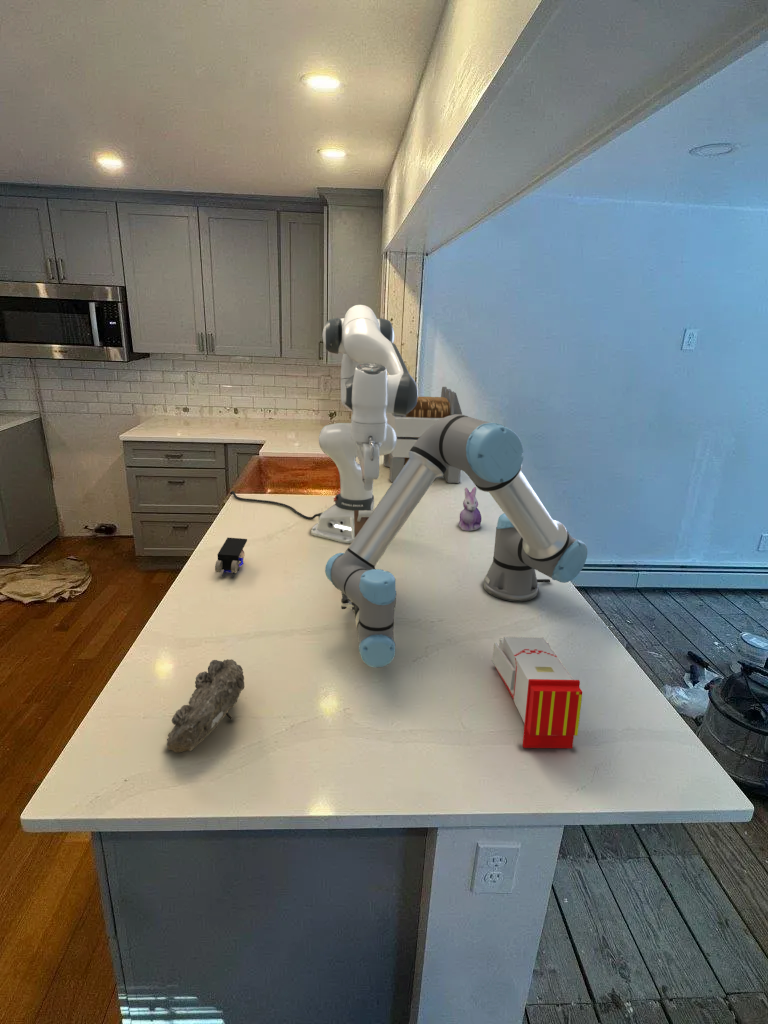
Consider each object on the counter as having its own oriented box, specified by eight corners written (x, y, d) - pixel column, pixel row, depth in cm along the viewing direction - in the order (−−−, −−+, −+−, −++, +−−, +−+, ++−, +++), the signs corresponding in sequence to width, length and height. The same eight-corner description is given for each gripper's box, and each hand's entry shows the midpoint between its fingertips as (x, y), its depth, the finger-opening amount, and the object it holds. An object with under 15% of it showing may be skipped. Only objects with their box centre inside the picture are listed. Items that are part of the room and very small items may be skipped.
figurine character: (238, 584, 162) (249, 557, 175) (236, 562, 158) (247, 536, 172) (215, 584, 161) (227, 556, 175) (212, 561, 158) (225, 535, 171)
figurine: (467, 533, 203) (471, 493, 198) (451, 523, 211) (454, 485, 206) (488, 529, 207) (492, 490, 202) (471, 520, 215) (475, 482, 210)
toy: (540, 620, 128) (592, 687, 99) (535, 674, 131) (584, 755, 102) (487, 619, 128) (523, 686, 99) (483, 673, 131) (517, 754, 101)
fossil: (192, 660, 117) (244, 628, 112) (224, 691, 120) (276, 661, 115) (142, 746, 98) (202, 712, 93) (182, 779, 101) (242, 748, 96)
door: (353, 511, 152) (356, 502, 144) (373, 511, 153) (377, 502, 144) (354, 566, 148) (357, 560, 140) (374, 565, 149) (378, 560, 140)
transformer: (382, 463, 289) (386, 382, 275) (445, 464, 293) (451, 384, 279) (390, 482, 257) (394, 392, 243) (460, 483, 261) (468, 394, 247)
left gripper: (386, 442, 129) (384, 499, 134) (377, 424, 149) (375, 474, 153) (359, 442, 129) (357, 499, 133) (353, 423, 148) (351, 474, 153)
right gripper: (331, 632, 132) (329, 586, 154) (409, 630, 134) (395, 585, 156) (332, 604, 129) (329, 561, 151) (411, 602, 132) (397, 560, 153)
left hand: (366, 486), depth 144 cm, fingers open, 5 cm apart
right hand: (363, 573), depth 154 cm, fingers closed on chest, 5 cm apart
